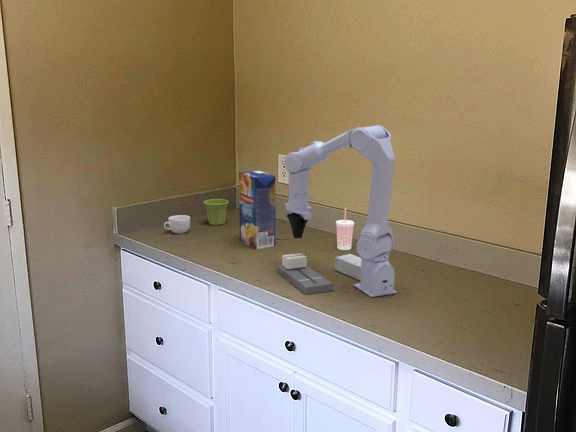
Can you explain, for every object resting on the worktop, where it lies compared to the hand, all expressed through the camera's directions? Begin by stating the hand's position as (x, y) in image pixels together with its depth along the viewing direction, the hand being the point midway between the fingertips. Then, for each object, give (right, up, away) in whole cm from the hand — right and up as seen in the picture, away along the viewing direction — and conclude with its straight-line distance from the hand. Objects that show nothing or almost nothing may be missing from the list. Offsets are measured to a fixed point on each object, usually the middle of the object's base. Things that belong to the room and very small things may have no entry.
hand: (297, 237), depth 181 cm
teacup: (-43, 0, +40) cm, 59 cm away
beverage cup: (+16, -4, +23) cm, 28 cm away
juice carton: (-13, -3, +27) cm, 31 cm away
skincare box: (+13, -7, +2) cm, 15 cm away
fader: (-1, -8, -3) cm, 9 cm away
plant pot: (-30, +3, +53) cm, 61 cm away
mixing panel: (+2, -12, -9) cm, 15 cm away
